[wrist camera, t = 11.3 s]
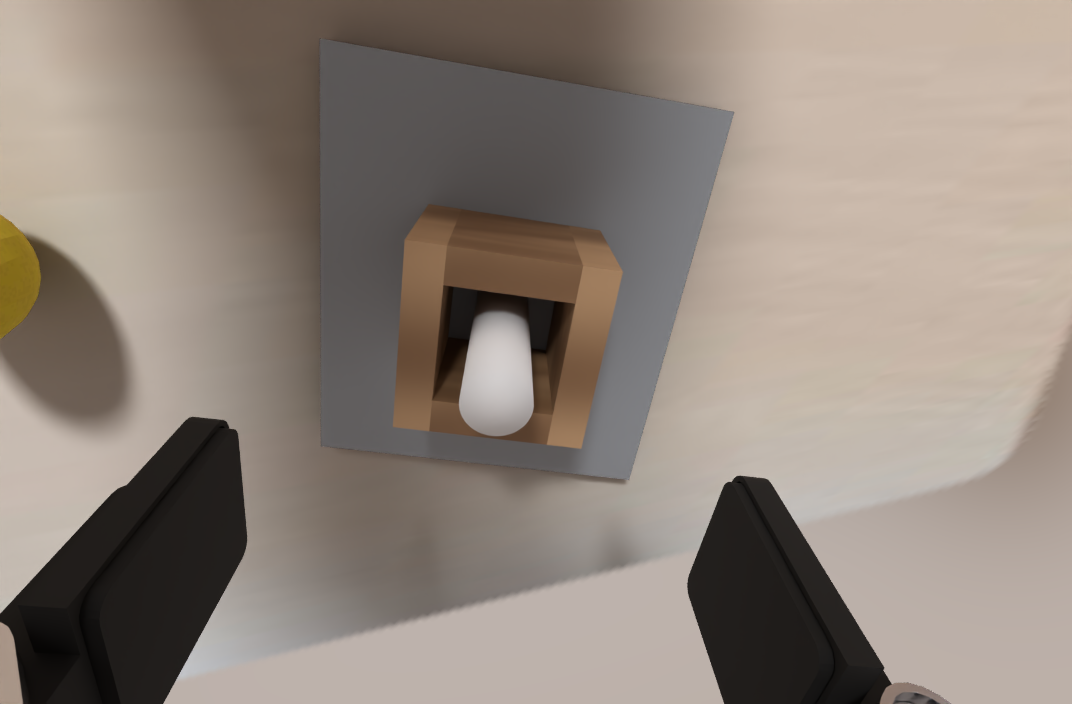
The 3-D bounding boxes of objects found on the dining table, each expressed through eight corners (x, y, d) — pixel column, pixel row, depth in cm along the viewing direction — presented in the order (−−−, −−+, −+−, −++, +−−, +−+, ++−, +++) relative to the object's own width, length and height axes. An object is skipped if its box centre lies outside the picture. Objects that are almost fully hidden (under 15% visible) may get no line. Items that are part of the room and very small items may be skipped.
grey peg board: (330, 40, 19) (193, 14, 11) (722, 109, 21) (860, 133, 13) (328, 431, 26) (242, 594, 18) (624, 464, 28) (671, 630, 19)
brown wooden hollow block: (428, 204, 21) (404, 239, 16) (600, 230, 21) (622, 271, 17) (416, 359, 23) (392, 426, 19) (568, 379, 24) (581, 448, 20)
